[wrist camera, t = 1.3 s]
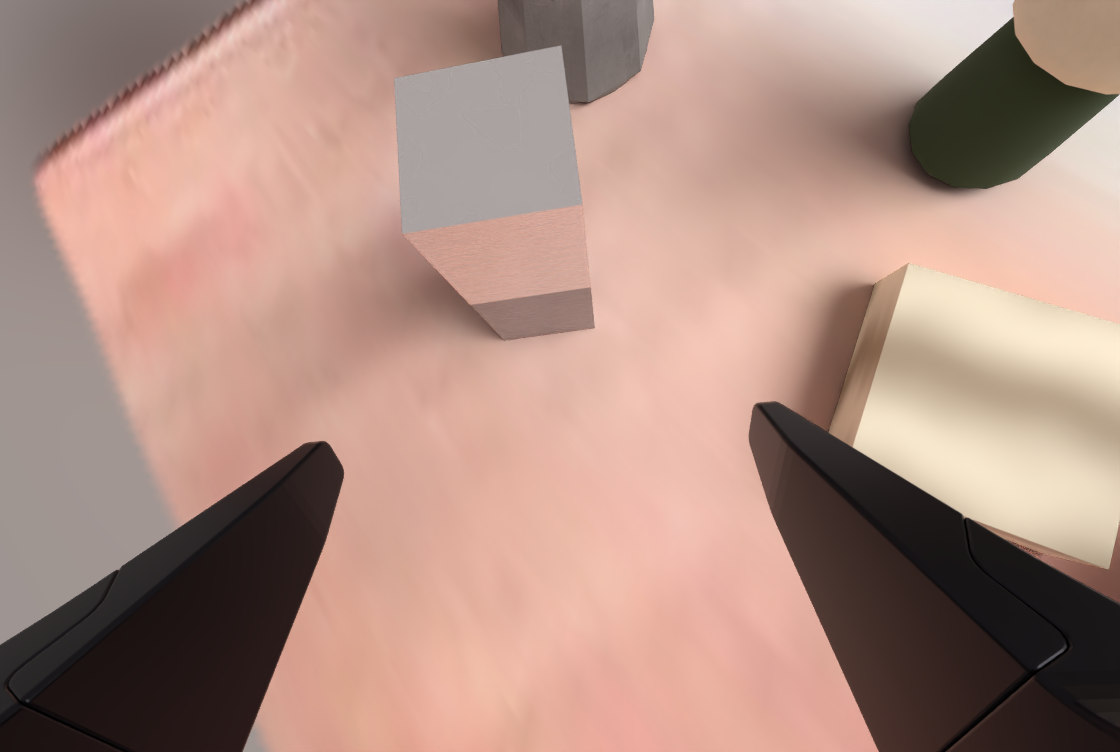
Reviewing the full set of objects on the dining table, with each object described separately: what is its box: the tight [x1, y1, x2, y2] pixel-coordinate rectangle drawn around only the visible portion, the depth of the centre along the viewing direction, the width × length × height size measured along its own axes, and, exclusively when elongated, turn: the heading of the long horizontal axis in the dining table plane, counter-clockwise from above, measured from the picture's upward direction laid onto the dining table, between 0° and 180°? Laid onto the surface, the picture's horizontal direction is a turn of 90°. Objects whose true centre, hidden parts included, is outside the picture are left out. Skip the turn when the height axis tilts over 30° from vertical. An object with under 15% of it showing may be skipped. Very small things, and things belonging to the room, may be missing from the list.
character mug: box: [909, 0, 1120, 189], centre depth 16 cm, size 11×7×13 cm, turn 53°
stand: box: [828, 263, 1120, 570], centre depth 19 cm, size 10×10×2 cm
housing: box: [394, 46, 595, 340], centre depth 18 cm, size 5×5×12 cm
